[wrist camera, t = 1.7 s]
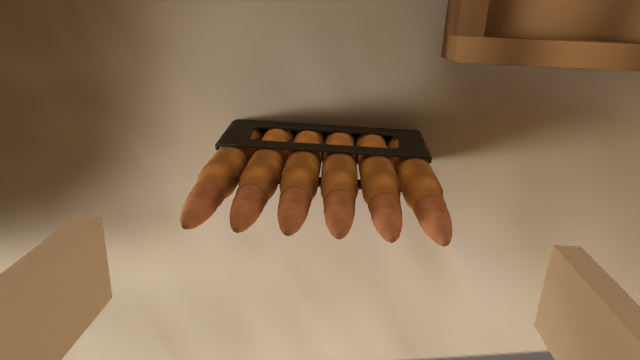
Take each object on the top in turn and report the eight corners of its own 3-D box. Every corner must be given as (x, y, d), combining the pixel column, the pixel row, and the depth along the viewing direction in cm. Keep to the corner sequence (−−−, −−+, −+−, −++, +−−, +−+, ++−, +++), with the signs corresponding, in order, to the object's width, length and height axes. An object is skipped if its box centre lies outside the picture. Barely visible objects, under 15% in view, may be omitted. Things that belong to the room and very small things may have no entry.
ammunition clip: (233, 150, 27) (159, 249, 16) (233, 119, 27) (155, 199, 16) (416, 161, 27) (469, 269, 16) (420, 130, 27) (479, 220, 15)
